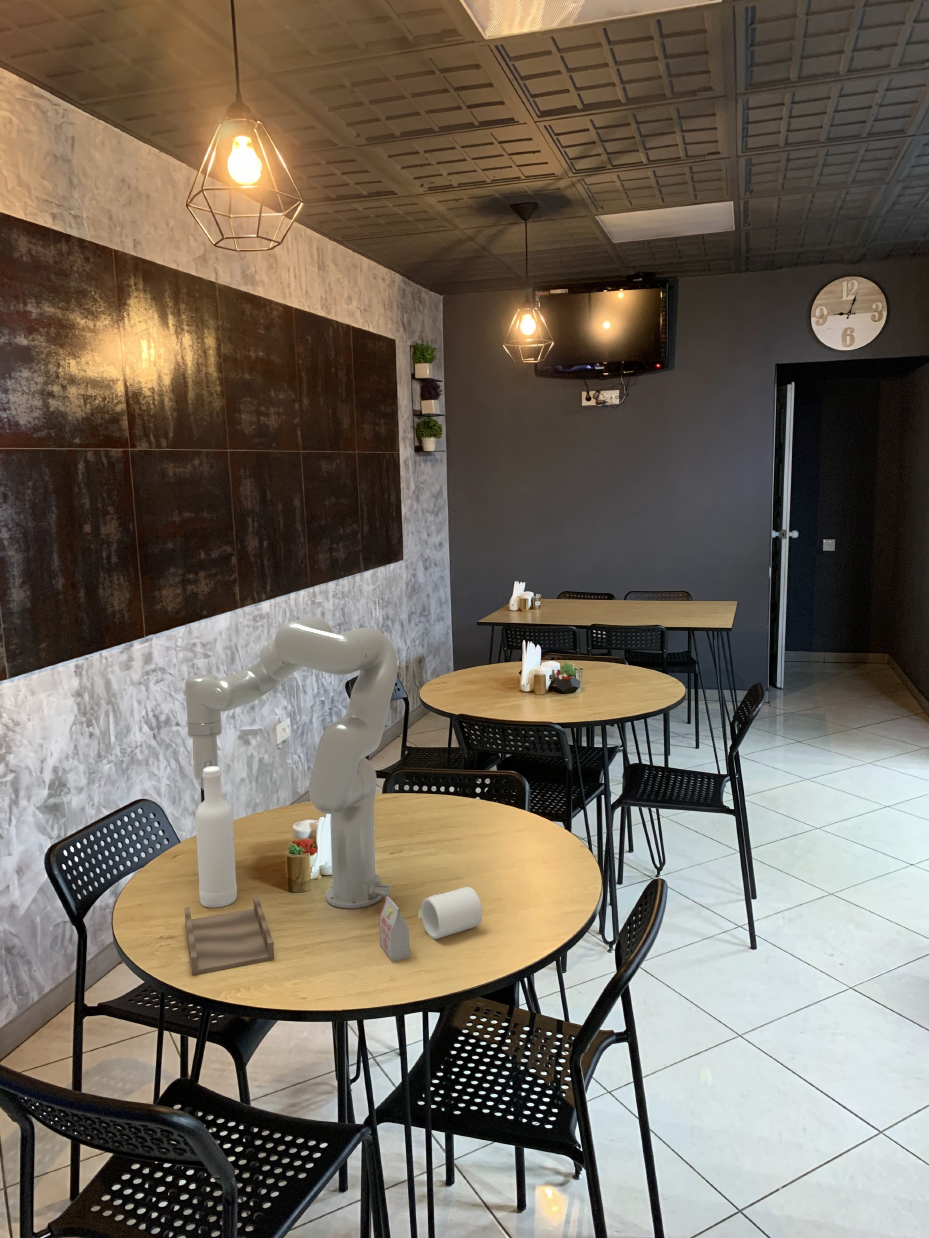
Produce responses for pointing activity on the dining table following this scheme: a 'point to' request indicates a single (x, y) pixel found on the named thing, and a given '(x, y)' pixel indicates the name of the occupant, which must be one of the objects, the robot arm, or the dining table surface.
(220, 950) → the u rest
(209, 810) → the bottle
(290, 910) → the dining table surface
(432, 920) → the mug
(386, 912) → the grey gabled box
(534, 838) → the dining table surface
